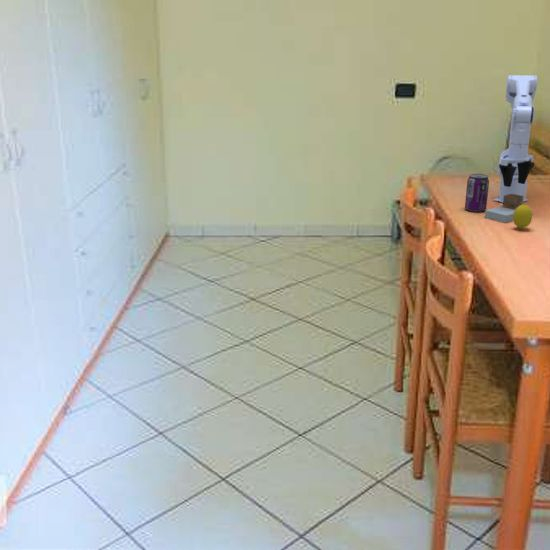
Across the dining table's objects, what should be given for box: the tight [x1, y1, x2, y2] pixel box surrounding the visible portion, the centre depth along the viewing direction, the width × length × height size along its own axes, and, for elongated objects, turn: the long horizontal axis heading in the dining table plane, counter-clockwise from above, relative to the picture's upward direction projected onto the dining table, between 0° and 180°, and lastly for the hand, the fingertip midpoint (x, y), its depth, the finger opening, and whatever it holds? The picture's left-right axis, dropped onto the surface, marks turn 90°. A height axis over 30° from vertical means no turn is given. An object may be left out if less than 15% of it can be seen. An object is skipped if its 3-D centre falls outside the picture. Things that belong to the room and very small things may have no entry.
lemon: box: [512, 203, 533, 230], centre depth 209 cm, size 6×6×8 cm
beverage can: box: [464, 173, 490, 213], centre depth 230 cm, size 7×7×12 cm
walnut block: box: [502, 194, 524, 210], centre depth 227 cm, size 4×4×6 cm
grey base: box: [484, 206, 515, 224], centre depth 221 cm, size 8×8×2 cm
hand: (514, 184), depth 224 cm, fingers open, 7 cm apart
